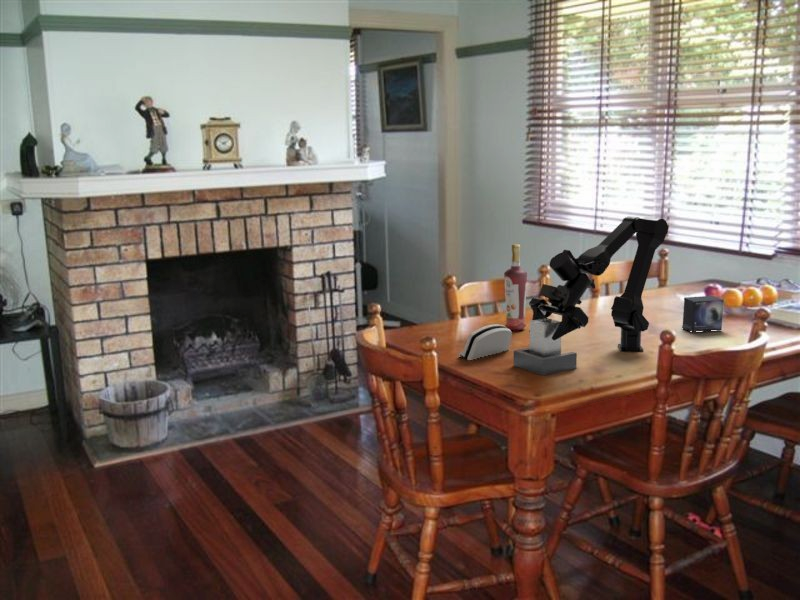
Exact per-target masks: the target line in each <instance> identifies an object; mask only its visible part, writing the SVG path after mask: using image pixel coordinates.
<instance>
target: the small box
mask: <svg viewBox="0 0 800 600" xmlns="http://www.w3.org/2000/svg"><path fill="white" fill-rule="evenodd" d="M723 313H724V299H723V298H720V297H717V296H715V295H706V296H688V297H684V298H683V313H682V327H681V329H682V328H683V330H684V329H686V330H685V331H687V330H689V331H692V332H696V331H711V330H722V329H723V328H722V327H723V316H724V315H723ZM689 331H688V332H689ZM722 331H723V330H722Z"/></svg>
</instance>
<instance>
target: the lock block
mask: <svg viewBox="0 0 800 600" xmlns="http://www.w3.org/2000/svg"><path fill="white" fill-rule="evenodd" d="M560 323H561V321H559V320H556V319H552V318H549V317H547V318H544V319H538V320H532V319H531V320H529V329H530V332H529V347H530V350H529V353H530V354H533V355H536V356H539V357H542V358H545V357H550V356H555V355H560V354H562V337H560V338H558V339H557V340H555V341H554V340H553V339H552V336H553V334H554V332H555V331H556V329H557V328H558V326H559V324H560Z"/></svg>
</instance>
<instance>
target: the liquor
mask: <svg viewBox="0 0 800 600" xmlns="http://www.w3.org/2000/svg"><path fill="white" fill-rule="evenodd" d="M520 252H521V244H518V243H514V244H513V243H512V244H511V263H510V264H511V265H510V268H509V269H507V270H505V272H504V275H503V276H504V296H505V319H506V320H505V321H506V323H505V324H504V326H505V327H506V328H507V329H510V330H513V331H512V332H519V331H520V330H521V331H523V330H524V329H525V328H526V326H527V325H526V323H525V322H526V301H527V299H526V297H527V281H528V279H527V278H528V272H527V271H526V270H524V269H523V268H521V260H520V259H521V258H520Z"/></svg>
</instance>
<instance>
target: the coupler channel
mask: <svg viewBox="0 0 800 600" xmlns="http://www.w3.org/2000/svg"><path fill="white" fill-rule="evenodd" d="M529 350H530V346H529V347H525V348H521V349H520V348H519V349H515V350H513V366H514V367H516V368H519V369H522V370H525V371H527V370H528V372H531V373H533V374H536V373H537V374H536V375H539V374H540V376H542V375H544V376H548V375H551V374H552V373H553V374H556V373H561V372H566V371H570V370H571V371H572V370H575V369H577V356H578V355H577V352H574V351H570V352H566V353H561V354H560V355H555V356H550V357H545V358H542V357H539V356H536V355H533V354H530V353H529ZM547 374H548V375H547Z"/></svg>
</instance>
